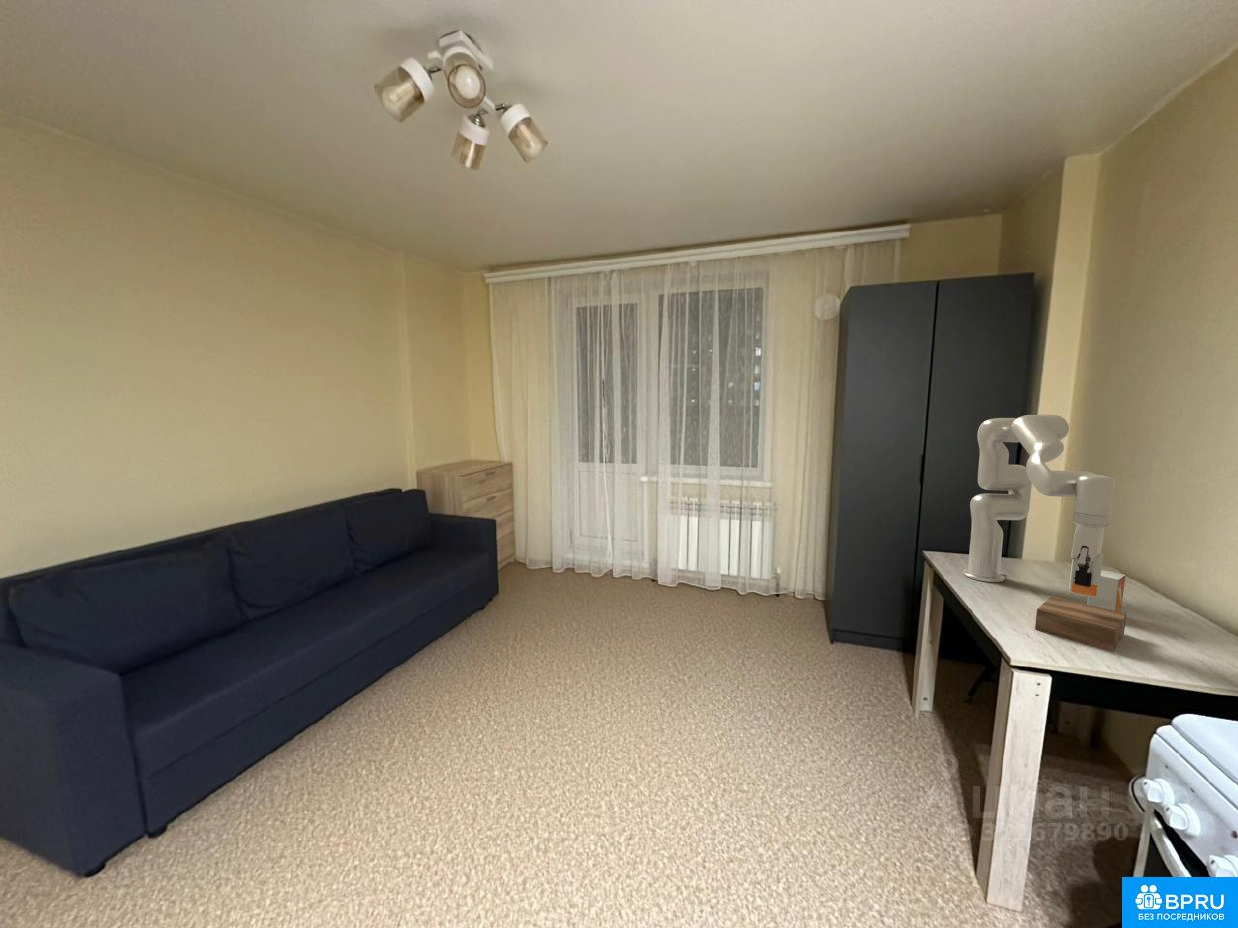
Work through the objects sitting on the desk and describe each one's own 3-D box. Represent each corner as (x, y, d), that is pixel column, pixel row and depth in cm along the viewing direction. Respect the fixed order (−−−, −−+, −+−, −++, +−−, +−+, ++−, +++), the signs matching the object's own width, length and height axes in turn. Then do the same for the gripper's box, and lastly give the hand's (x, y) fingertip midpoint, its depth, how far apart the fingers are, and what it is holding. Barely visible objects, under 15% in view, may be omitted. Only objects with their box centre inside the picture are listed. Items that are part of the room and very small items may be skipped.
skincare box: (1068, 593, 137) (1072, 552, 136) (1068, 589, 140) (1073, 549, 139) (1098, 599, 133) (1103, 556, 132) (1098, 594, 136) (1102, 553, 135)
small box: (1114, 621, 144) (1119, 579, 143) (1085, 614, 150) (1089, 573, 148) (1121, 615, 149) (1126, 574, 147) (1093, 608, 154) (1097, 568, 153)
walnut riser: (1049, 614, 149) (1051, 596, 149) (1123, 634, 137) (1126, 613, 136) (1034, 629, 140) (1036, 609, 139) (1113, 651, 127) (1115, 629, 126)
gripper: (1080, 513, 142) (1073, 573, 145) (1066, 521, 132) (1059, 586, 134) (1116, 517, 137) (1109, 580, 139) (1104, 526, 126) (1096, 594, 128)
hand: (1084, 582), depth 136 cm, fingers closed on skincare box, 4 cm apart
